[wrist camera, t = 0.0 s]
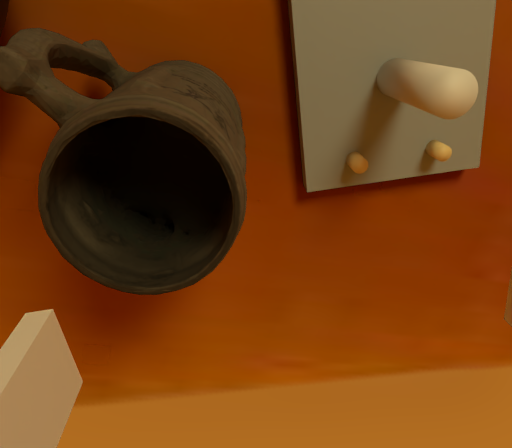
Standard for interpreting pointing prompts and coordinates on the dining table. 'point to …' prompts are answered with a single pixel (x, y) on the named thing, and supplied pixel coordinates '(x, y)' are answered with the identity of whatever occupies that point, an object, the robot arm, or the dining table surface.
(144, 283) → the beer stein
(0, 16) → the coal bowl
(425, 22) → the post board
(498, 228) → the dining table surface
